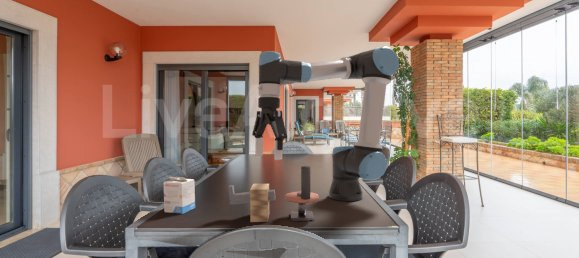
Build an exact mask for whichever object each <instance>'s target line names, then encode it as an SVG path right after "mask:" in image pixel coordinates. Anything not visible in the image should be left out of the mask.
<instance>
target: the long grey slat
mask: <svg viewBox="0 0 579 258" xmlns="http://www.w3.org/2000/svg"><path fill="white" fill-rule="evenodd" d="M227 187H228V188H227V189H228V198H229V205H230V206H232V205H240V204H241V205H242V204H250V191H245V192H235V184H229V186H227ZM268 201H269V202H271V201H272V202H273V201H276V190H275V188H274V189H269V191H268Z"/></svg>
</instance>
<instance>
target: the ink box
mask: <svg viewBox="0 0 579 258" xmlns="http://www.w3.org/2000/svg"><path fill="white" fill-rule="evenodd" d="M168 179H169V180H167V181H164V182H163V204H164V206H163V207H164V213H170V214H171V213H172V214H182V215H183V214H185V213H187V212H191V211H192V210H194V209H196V193H195V192H196V191H195V189H196V188H195V187H196V186H195V179H193V178H186V177H184V176H183V177H182V176H168Z"/></svg>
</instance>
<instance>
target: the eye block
mask: <svg viewBox="0 0 579 258" xmlns="http://www.w3.org/2000/svg"><path fill="white" fill-rule="evenodd" d="M269 190H270V183H253V184H252V185H251V186H250V189H249V192H250V203H249V204H250V205H249V209H250V213H249V216H250V218H249V219H250V223H268V222H269V218H270V217H269V216H270V201H268V191H269Z"/></svg>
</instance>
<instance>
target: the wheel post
mask: <svg viewBox="0 0 579 258" xmlns="http://www.w3.org/2000/svg"><path fill="white" fill-rule="evenodd" d="M314 216H315V215H314V214H313V211H312V210H307V203H297V210H296V211H295V210H291V211H290V221H291V222H304V221H305V222H308V221H309V222H310V220H312V221H313V220H314V221H315V217H314ZM312 221H311V222H312ZM314 221H313V222H314Z"/></svg>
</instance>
